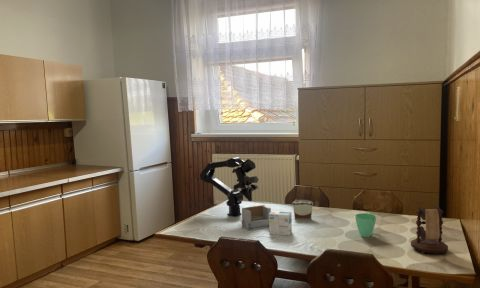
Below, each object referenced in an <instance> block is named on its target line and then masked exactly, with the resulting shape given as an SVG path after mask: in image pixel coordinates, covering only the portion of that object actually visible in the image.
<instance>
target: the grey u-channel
mask: <svg viewBox="0 0 480 288" xmlns="http://www.w3.org/2000/svg"><path fill="white" fill-rule="evenodd" d="M271 211H272V209H271V207H269V206H267V205H265V206H263V217H257V218H252V219H251V211H249V210H247V209H243V220H242V219H241V228H242V229H243V230H245V231H251V230H257V229H262V228H267V227H268V228H269V213H270V212H271Z"/></svg>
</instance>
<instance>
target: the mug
mask: <svg viewBox="0 0 480 288" xmlns="http://www.w3.org/2000/svg"><path fill="white" fill-rule="evenodd" d="M376 221H377V216H376V215H375V214H373V213H371V212H367V213H366V212H365V213H364V212H362V213H357V214H355V222H356V227H357V230H358V232H359V235H360V237H362V238H370V237H372V234H373V231H374V229H375V225H376Z"/></svg>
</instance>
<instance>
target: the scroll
mask: <svg viewBox="0 0 480 288" xmlns="http://www.w3.org/2000/svg"><path fill="white" fill-rule="evenodd" d="M443 213H444V210H443V209H441V208H440V206H439V205H434V207H433V208H432V209H431V208H428V209H426V208H425V207H424V206H423V205H420V206H419V208H418V209H417V211H416V216H417V217H416V221H415V224H416V227H417V228H416V236H417V237H416V238H415V239H413V240H411V241H410V246H411V247H412V248H413V249H415V250H416V251H417V250H418V251H421V252H422V254H423V253H430V254H431V253H432V254H441V253H442V254H443V253H444V254H445V253H446V254H447V252H448V251H449V246H448V244H446V243H445V242H444V241H443V238H442V236H443V231H442V230H443V227H442V226H443V224H444V221H443ZM422 225H425V228H424V227H423V226H422Z"/></svg>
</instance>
